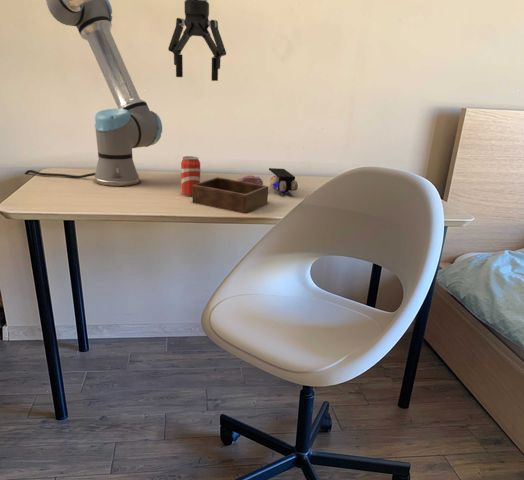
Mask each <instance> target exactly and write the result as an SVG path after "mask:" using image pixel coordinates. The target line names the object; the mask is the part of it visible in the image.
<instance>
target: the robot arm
mask: <svg viewBox="0 0 524 480" xmlns="http://www.w3.org/2000/svg"><path fill="white" fill-rule="evenodd" d="M45 1H46V6H47V9H48V11H49V13H50V14H51V16H52V17H53V18H54V19H55V20H56V21H57V22H58V23H60V24H62V25H65V26H71V27H75V28H76V29H77V31H78V33H79V35H80V37H81V39H83V40H85V41H87V43H88V44H89V47H90V49H91V52H92V54H93V55H94V58H95V60H96V62H97V65H98V67H99V69H100V71H101V73H102V76H103V78H104V80H105V82H106V84H107V87H108V89H109V92H110V94H111V95H112V97H113V100H114V102H115V104H116V106H117V108H106V109H102V110H99V111H98V112H96V113H95V116H94V128H95V139H96V146H97V157H98V160H97V163H96V164H97V165H96V170H95V172H92V173H86V174H82V175H81V174H80V175H75V174H74V175H73V174H65V173H52V172H51V173H50V172H39V171H36V170H33V169H28V170H26V171H24V175H28V174H30V173H32V174H35V175H38V176H48V177H64V178H72V179H83V178H87V177H94V182H95V183H96V184H99V185H102V186H108V187H109V186H110V187H129V186H135V185H136V184H139V183H140V177H139V174H138V171H137V168H136V165H135V162H134V160H133V158H134V157H133V149H137V148H147V147H150V146H153V145H156V144H157V143H158V142H159V141H160V139H161V138H162V133H163V123H162V120H161V117H160V116H159V115H158V114H157V113H156V112H155V111H153V110H150V108H149V105H148V104H147V102H146V101H145V100H143V99H141V98H140V96H139V94H138V91H137V89H136V86H135V84H134V82H133V79H132V77H131V75H130V73H129V71H128V68H127V65H126V64H125V61H124V59H123V57H122V55H121V53H120V50H119V47H118V46H117V43H116V41H115V38H114V37H113V34H112V32H111V31H112V28H113V24H112V21H113V16H112V14H113V9H112V4H111V2H110V1H109V0H45ZM209 15H210V3H209V2H208V0H184V16H185V18H181V17H177V18H176V19H175V27H174V31H173V33H172V37H171V39H170V42H169V45H168V51H169V52H171V53H172V54H173V64H174V66H175V77H176V78H183V77H184V73H183V72H184V71H183V69H184V68H183V65H184V63H183V62H184V61H183V54H182V51H183V50H184V49H185V46H186V45H187V43H188V42H189V40H190V39H191V38H192V37H202V38H203V39H204V41H205V43H206V44H207V46H208V48H209V50H210V51H211V53H212V55H213V56H212V57H211V81H212V82H219V70H220V69H221V58H222V57H224V56H226V55H227V51H226V48H225V44H224V42H223V39H222V36H221V33H220V30H219V23H218V20H216V19H210V20H209ZM184 27H185V29H184ZM208 29H210V31H211V33H210V31H209V30H208ZM211 34H212V36H211ZM212 37H213V38H212Z"/></svg>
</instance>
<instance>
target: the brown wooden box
mask: <svg viewBox="0 0 524 480" xmlns="http://www.w3.org/2000/svg"><path fill="white" fill-rule="evenodd" d="M192 187H193V196H192V203H194V204H199V205H203V206H208V207H213V208H218V209H223V210H228V211H233V212H237V213H242V214H247V213H249V212H251V211H253V210H257V209H258V208H260V207H262V206H265V205H267V204H268V201H269V200H268V197H269V186H268V185H264V184H263V185H258V184H253V183H247V182H242V181H237V180H235V179H230V178H225V177H220V176H219V177H218V176H217V177H214V178H210V179H207V180H204V181H200V183H197V184H194V185H192Z"/></svg>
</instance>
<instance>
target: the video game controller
mask: <svg viewBox="0 0 524 480" xmlns="http://www.w3.org/2000/svg"><path fill="white" fill-rule="evenodd" d="M236 181H242V182H247V183H253V184H258V185H264V181H263V180H262V178H261V177H260V176H255V175H251V174H249V175H245V176H242V175H241V176H239V178H237V180H236Z"/></svg>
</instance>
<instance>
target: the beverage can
mask: <svg viewBox="0 0 524 480" xmlns="http://www.w3.org/2000/svg"><path fill="white" fill-rule="evenodd" d="M200 182H201V161H200V160H199V157H197V156H192V155H190V156H189V155H187V156H182V160H181V162H180V183H181V184H180V187H181V188H180V189H181V190H180V191H181V194H183V195H184V196H186V197H193V187H192V185H194V184H197V183H200Z"/></svg>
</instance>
